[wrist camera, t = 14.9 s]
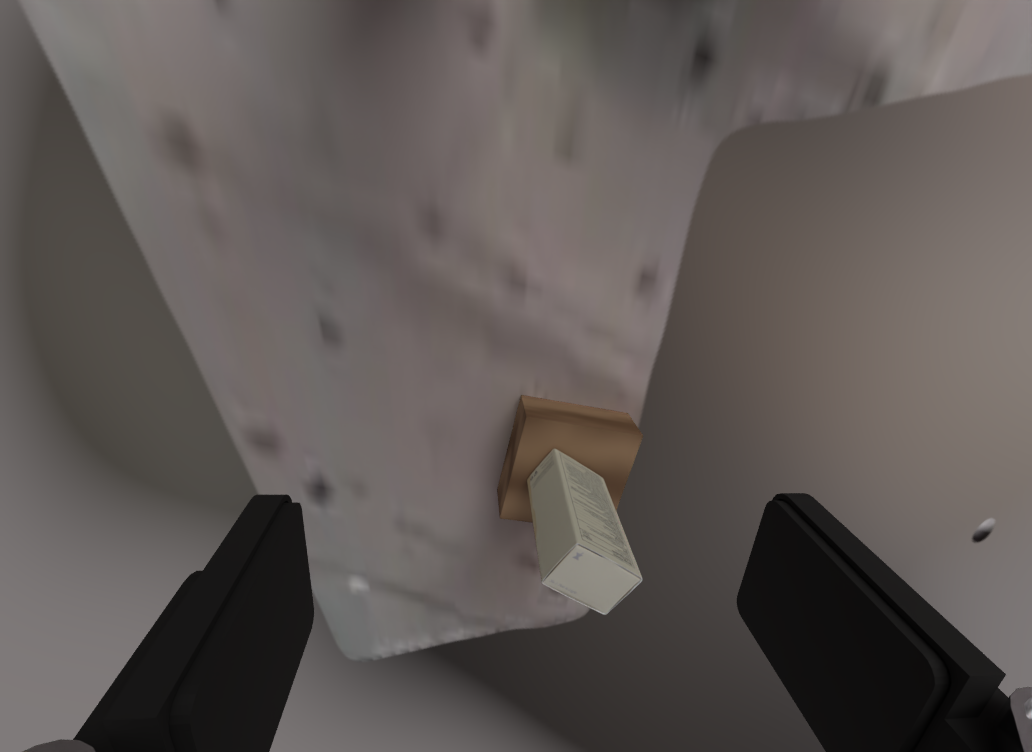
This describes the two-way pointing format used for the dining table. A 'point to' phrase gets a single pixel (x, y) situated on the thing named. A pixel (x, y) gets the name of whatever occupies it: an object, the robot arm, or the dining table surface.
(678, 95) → the dining table surface
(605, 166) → the dining table surface
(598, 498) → the skincare box
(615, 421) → the light wood square block
